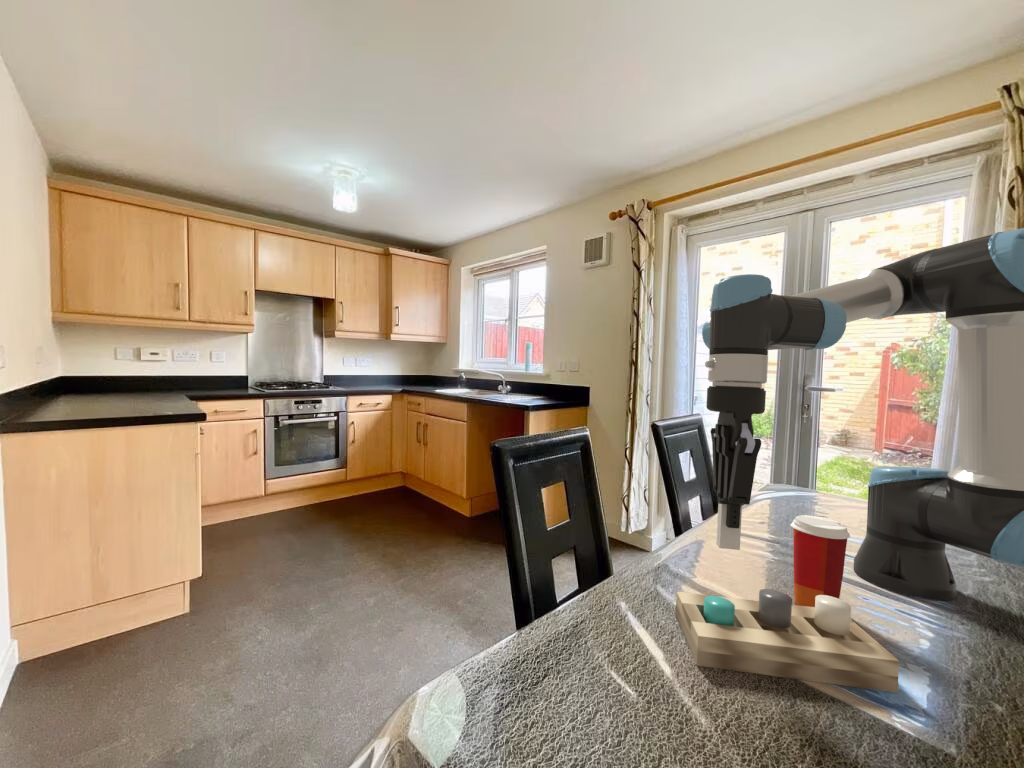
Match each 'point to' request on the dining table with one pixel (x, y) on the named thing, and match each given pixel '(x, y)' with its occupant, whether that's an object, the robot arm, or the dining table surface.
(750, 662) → the wooden button tray
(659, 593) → the dining table surface
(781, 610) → the gray button
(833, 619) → the white rounded cylinder
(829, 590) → the coffee cup
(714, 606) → the teal button
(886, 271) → the robot arm
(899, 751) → the dining table surface
